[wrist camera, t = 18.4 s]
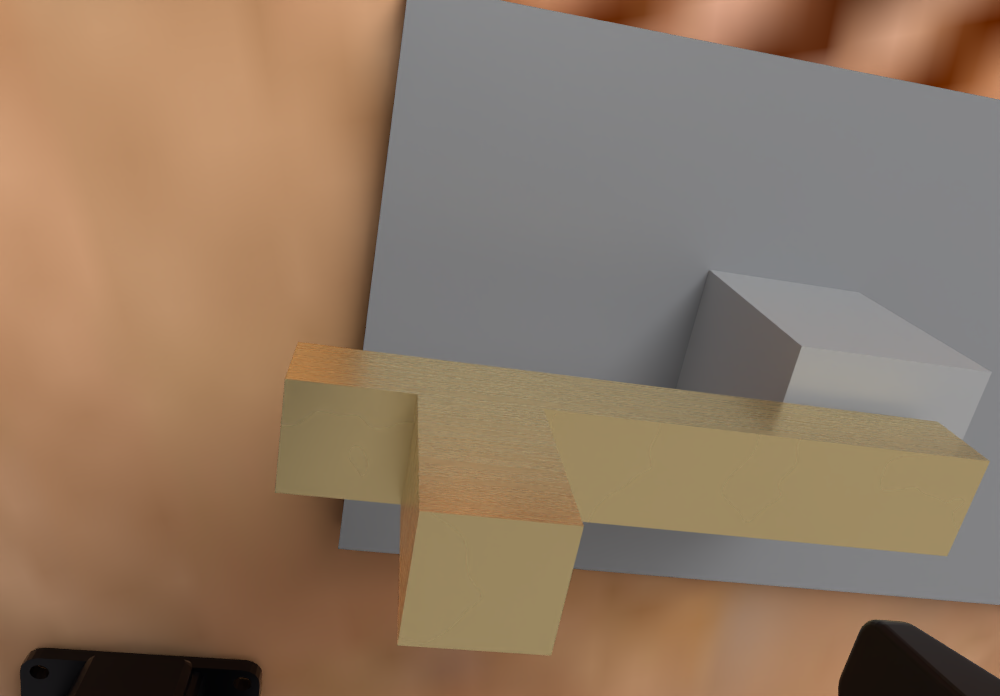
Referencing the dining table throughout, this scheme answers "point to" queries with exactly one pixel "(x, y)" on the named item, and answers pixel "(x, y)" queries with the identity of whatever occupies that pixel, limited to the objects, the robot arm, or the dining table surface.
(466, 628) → the latch bolt
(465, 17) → the base plate
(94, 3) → the dining table surface
